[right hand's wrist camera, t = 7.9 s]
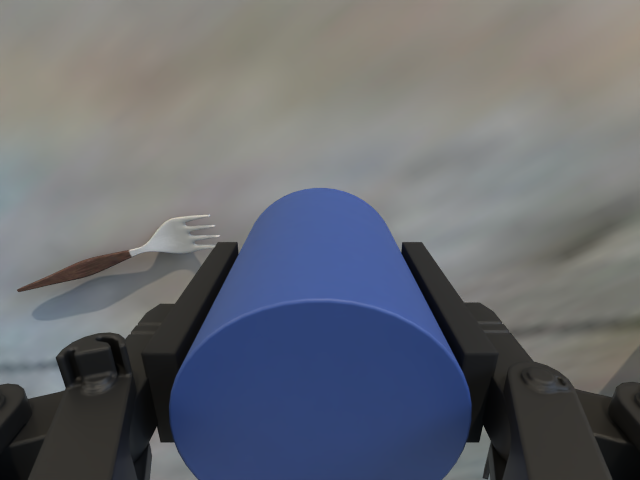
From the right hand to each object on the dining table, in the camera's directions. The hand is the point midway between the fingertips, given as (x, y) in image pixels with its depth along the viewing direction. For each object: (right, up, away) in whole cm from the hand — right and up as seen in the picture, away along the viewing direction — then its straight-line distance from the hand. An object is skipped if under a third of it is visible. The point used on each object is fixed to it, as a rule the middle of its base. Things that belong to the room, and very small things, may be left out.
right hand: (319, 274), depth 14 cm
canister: (0, 0, +1) cm, 1 cm away
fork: (-14, 0, +11) cm, 18 cm away
